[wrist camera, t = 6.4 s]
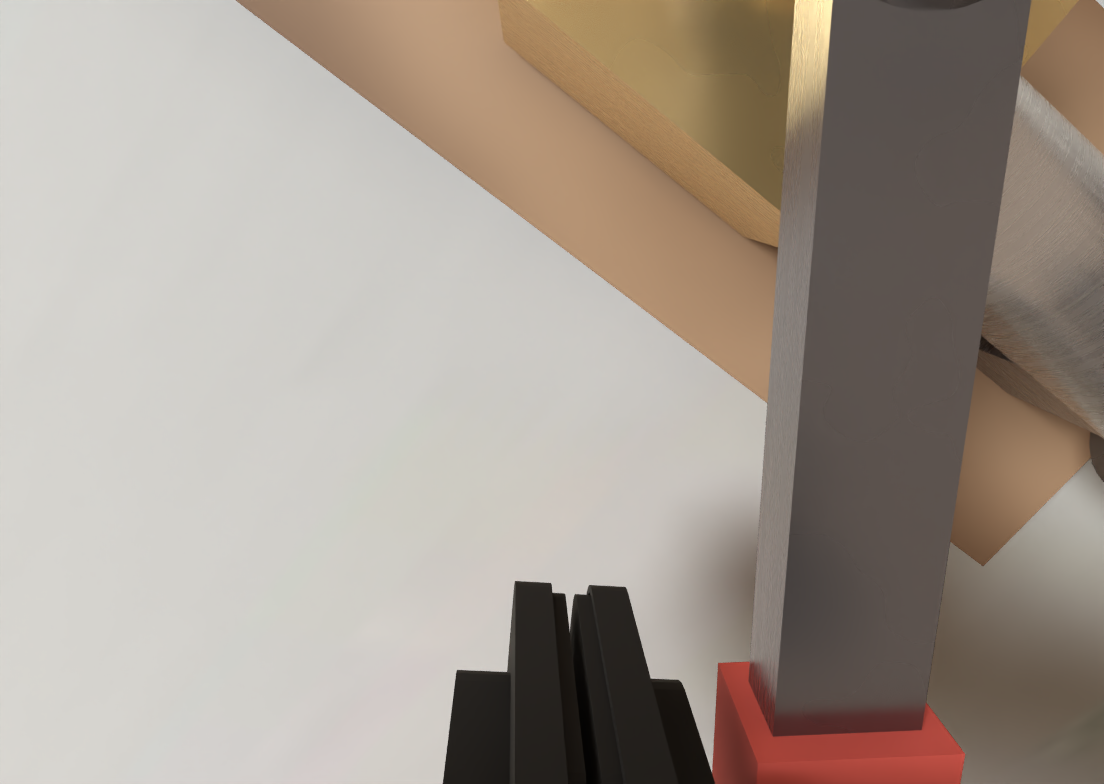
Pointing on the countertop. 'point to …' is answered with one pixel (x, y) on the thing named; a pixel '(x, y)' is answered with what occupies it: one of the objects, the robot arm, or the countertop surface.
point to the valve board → (661, 214)
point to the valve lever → (870, 385)
